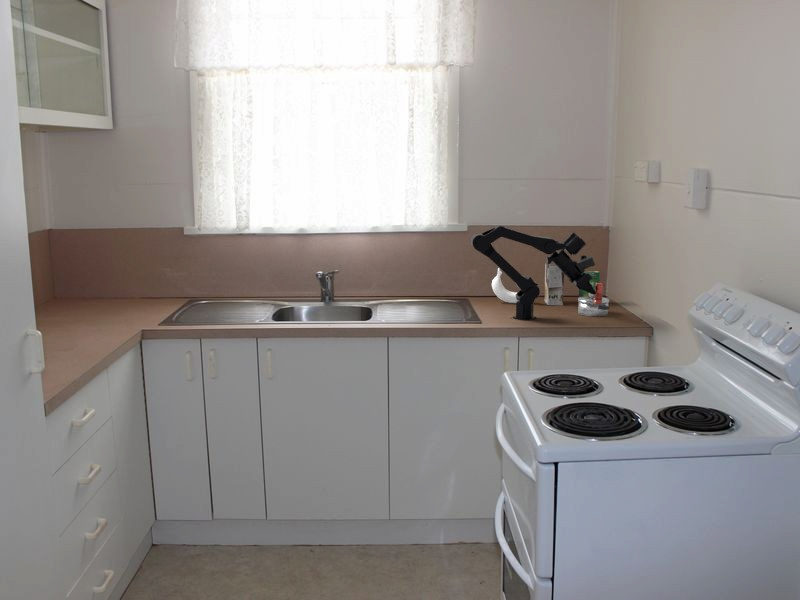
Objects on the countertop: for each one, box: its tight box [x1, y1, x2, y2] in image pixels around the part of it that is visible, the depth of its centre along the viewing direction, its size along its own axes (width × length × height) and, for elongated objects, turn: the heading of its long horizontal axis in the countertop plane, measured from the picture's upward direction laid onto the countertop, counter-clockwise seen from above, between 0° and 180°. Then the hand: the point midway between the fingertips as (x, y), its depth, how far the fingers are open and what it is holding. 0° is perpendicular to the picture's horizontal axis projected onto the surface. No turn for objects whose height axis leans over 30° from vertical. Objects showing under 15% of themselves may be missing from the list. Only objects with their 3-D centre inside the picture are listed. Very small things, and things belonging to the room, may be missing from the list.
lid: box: [577, 282, 610, 304], centre depth 307 cm, size 15×12×8 cm
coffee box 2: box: [578, 270, 601, 298], centre depth 330 cm, size 8×3×13 cm, turn 109°
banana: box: [491, 267, 518, 304], centre depth 330 cm, size 5×19×15 cm, turn 83°
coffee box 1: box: [544, 262, 565, 306], centre depth 330 cm, size 9×6×16 cm
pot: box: [577, 302, 610, 318], centre depth 310 cm, size 16×11×4 cm
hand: (594, 293), depth 300 cm, fingers closed, pressing on lid
